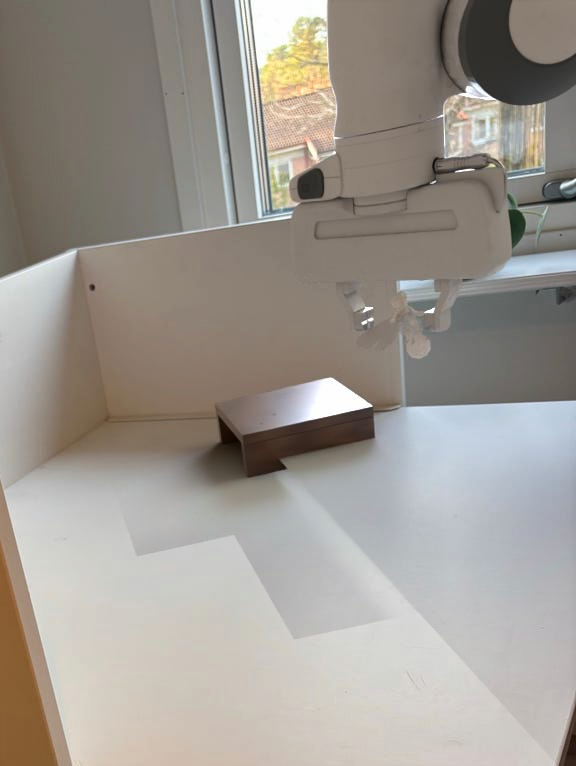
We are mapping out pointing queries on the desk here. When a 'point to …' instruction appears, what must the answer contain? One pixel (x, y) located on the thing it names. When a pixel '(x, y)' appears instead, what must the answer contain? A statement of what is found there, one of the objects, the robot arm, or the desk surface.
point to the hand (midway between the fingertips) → (398, 329)
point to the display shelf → (293, 422)
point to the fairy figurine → (390, 327)
